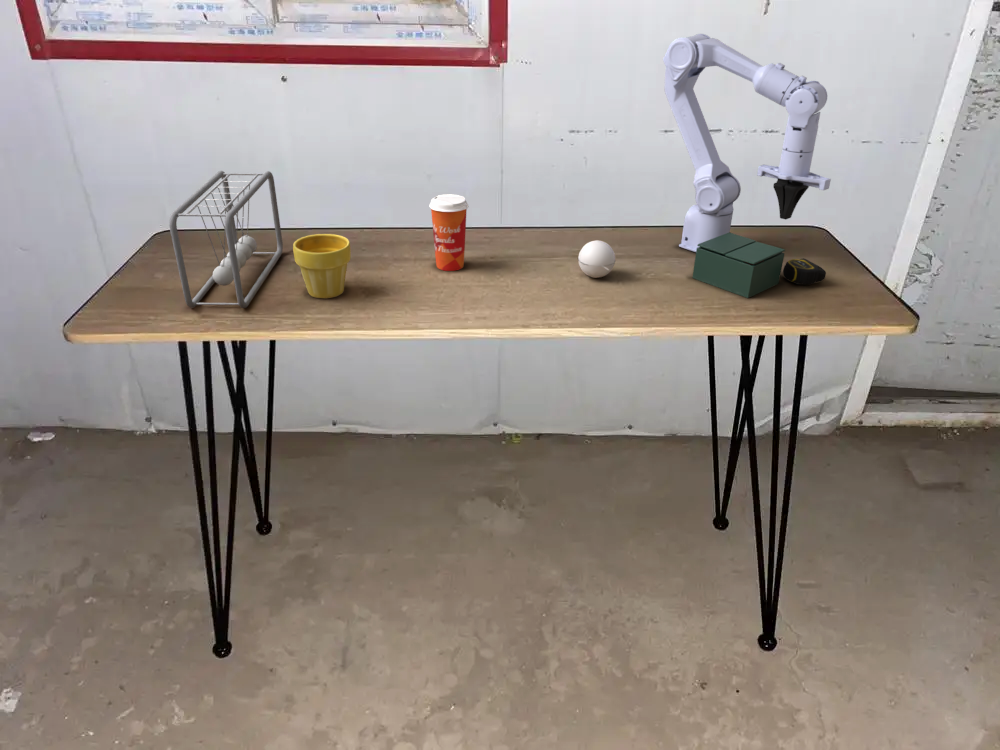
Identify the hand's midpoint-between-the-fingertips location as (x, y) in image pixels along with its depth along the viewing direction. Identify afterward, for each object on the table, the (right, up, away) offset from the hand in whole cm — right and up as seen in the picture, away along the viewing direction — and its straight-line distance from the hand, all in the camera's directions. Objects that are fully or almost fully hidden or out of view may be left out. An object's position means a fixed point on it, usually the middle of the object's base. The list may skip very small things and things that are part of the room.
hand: (785, 217), depth 156 cm
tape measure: (+3, -13, -1) cm, 13 cm away
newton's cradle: (-109, -13, -4) cm, 109 cm away
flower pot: (-91, -16, -9) cm, 92 cm away
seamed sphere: (-38, -13, -2) cm, 40 cm away
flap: (-9, -8, -7) cm, 14 cm away
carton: (-11, -13, -2) cm, 17 cm away
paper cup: (-68, -9, +3) cm, 68 cm away
